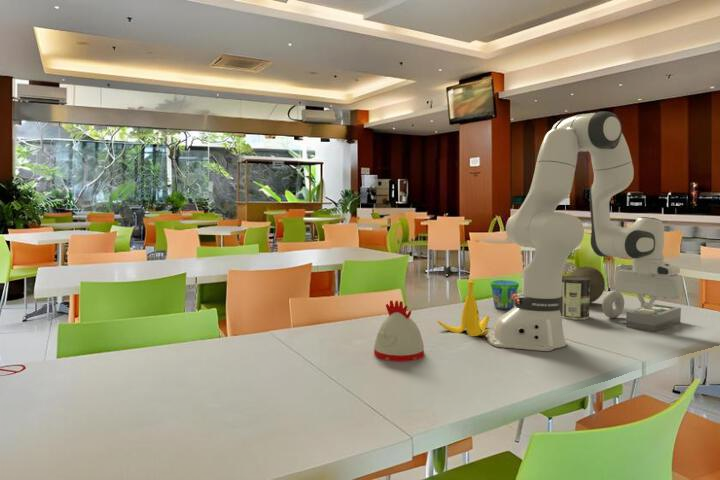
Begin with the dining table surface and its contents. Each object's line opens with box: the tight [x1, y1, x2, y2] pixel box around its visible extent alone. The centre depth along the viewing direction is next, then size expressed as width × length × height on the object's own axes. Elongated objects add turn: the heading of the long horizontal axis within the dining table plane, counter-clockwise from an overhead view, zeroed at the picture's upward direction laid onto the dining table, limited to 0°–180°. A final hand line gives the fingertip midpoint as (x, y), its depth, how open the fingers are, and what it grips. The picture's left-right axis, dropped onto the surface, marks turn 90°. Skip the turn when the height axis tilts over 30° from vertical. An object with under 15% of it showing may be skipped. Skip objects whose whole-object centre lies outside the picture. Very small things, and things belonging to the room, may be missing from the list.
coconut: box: [569, 266, 606, 304], centre depth 209 cm, size 14×14×15 cm
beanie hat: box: [373, 300, 425, 362], centre depth 146 cm, size 14×14×15 cm
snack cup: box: [490, 279, 520, 311], centre depth 204 cm, size 16×10×10 cm
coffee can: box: [561, 275, 590, 321], centre depth 188 cm, size 10×10×14 cm
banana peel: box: [436, 280, 490, 337], centre depth 169 cm, size 17×19×17 cm
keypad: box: [625, 303, 682, 333], centre depth 176 cm, size 20×9×5 cm, turn 128°
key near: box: [637, 309, 655, 315], centre depth 172 cm, size 4×4×2 cm
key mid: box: [645, 306, 663, 312], centre depth 176 cm, size 4×4×2 cm
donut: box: [601, 289, 625, 319], centre depth 185 cm, size 10×4×10 cm, turn 119°
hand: (646, 308), depth 172 cm, fingers closed
